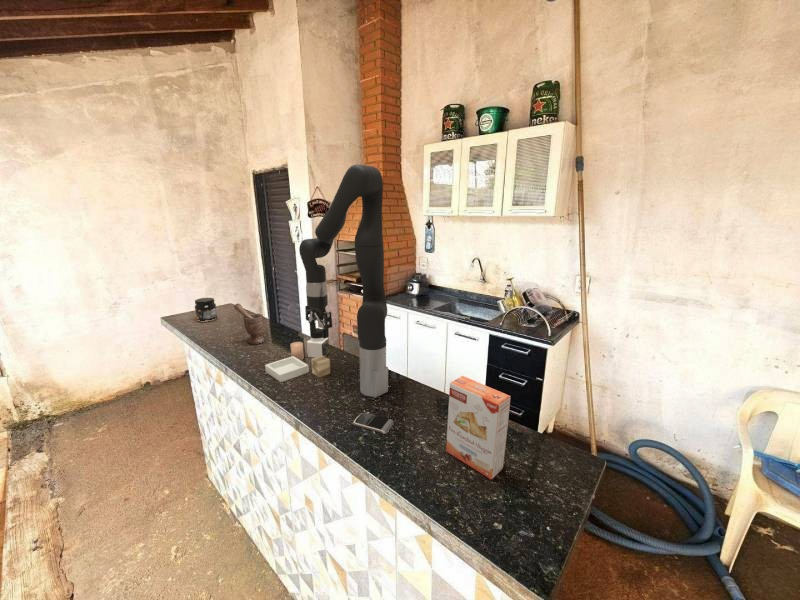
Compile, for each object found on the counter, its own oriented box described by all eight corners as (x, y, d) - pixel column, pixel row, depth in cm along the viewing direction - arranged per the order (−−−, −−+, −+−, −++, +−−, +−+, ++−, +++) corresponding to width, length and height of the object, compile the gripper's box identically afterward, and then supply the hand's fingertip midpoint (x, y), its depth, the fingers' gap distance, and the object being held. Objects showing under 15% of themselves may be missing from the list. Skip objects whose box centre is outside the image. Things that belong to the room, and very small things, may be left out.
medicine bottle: (322, 358, 148) (321, 332, 145) (307, 357, 149) (305, 331, 146) (329, 352, 155) (328, 326, 152) (314, 350, 156) (313, 325, 153)
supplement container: (197, 318, 199) (194, 298, 196) (218, 316, 203) (215, 296, 200) (195, 323, 190) (192, 302, 187) (217, 321, 194) (214, 301, 191)
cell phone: (362, 415, 109) (362, 411, 108) (394, 424, 105) (394, 419, 104) (352, 426, 103) (352, 422, 103) (385, 435, 99) (385, 431, 99)
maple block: (330, 373, 135) (329, 359, 134) (319, 377, 132) (318, 363, 130) (323, 369, 138) (322, 355, 137) (312, 373, 135) (311, 359, 133)
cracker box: (444, 452, 92) (448, 381, 86) (458, 442, 96) (462, 374, 91) (491, 482, 82) (498, 404, 77) (503, 469, 86) (512, 394, 81)
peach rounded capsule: (306, 359, 147) (305, 344, 145) (295, 362, 144) (294, 347, 142) (300, 355, 151) (299, 340, 149) (289, 359, 147) (288, 343, 145)
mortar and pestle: (245, 349, 157) (240, 306, 152) (236, 344, 162) (231, 303, 157) (269, 341, 166) (265, 301, 161) (259, 337, 171) (255, 298, 166)
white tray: (309, 372, 136) (308, 365, 135) (280, 382, 127) (279, 375, 127) (293, 362, 144) (293, 356, 143) (265, 371, 135) (265, 364, 135)
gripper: (297, 291, 129) (300, 332, 133) (318, 298, 119) (321, 342, 123) (315, 288, 134) (317, 328, 138) (336, 295, 124) (338, 337, 129)
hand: (319, 334), depth 131 cm, fingers open, 8 cm apart
